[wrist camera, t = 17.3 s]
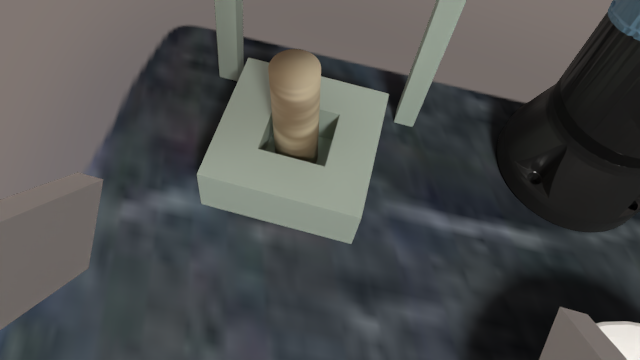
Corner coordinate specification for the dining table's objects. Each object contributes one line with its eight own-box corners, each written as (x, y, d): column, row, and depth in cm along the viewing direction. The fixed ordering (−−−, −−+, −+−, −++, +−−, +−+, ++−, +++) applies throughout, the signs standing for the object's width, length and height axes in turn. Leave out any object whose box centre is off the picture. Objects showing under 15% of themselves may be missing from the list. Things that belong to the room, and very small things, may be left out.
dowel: (321, 141, 51) (325, 53, 41) (313, 176, 49) (315, 92, 39) (280, 135, 51) (274, 45, 41) (271, 169, 49) (262, 84, 39)
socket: (419, 113, 56) (554, -199, 31) (394, 255, 47) (556, -26, 22) (221, 62, 57) (199, -284, 32) (158, 192, 48) (61, -150, 23)
